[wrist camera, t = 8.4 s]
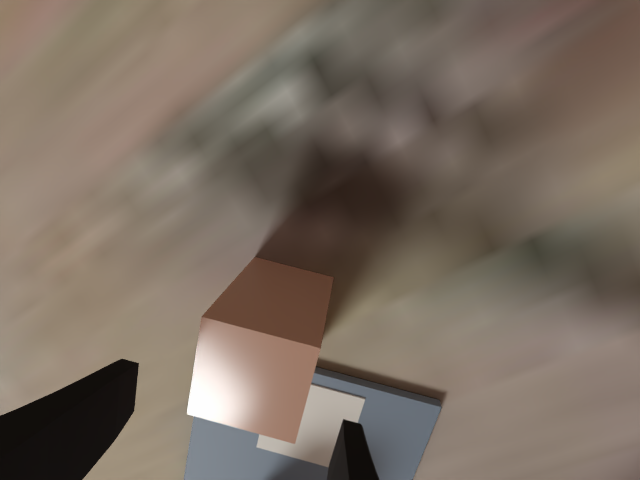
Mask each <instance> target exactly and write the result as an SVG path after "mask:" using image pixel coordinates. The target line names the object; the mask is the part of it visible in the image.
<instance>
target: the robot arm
mask: <svg viewBox="0 0 640 480" xmlns="http://www.w3.org/2000/svg"><path fill="white" fill-rule="evenodd" d="M138 366H139V363H136V362H132V361H128V360H125V359H120V360H118V361H116V362H114V363H112V364H110V365H108V366H106V367H104V368H102V369H100V370H98V371H96V372H94V373H92V374H90V375H88V376H86V377H84V378H82V379H80V380H78V381H76V382H74V383H72V384H70V385H68V386H66V387H64V388H62V389H60V390H58V391H56V392H54V393H52V394H49V395H47V396H45V397H43V398H41V399H38V400H36V401H34V402H32V403H29V404H27V405H25V406H23V407H20V408H18V409H16V410H13V411H11V412H9V413H6V414H4V415H1V416H0V480H82V479H83V478H84V477H85V476H86V475H87V473H88V472H89V471H90V470H91V469H92V467H93V466H94V465H95V464H96V463H97V461H98V460H99V459H100V458H101V457H102V455H103V454H104V453H105V452H106V450H107V449H108V448H109V447H110V446H111V444H112V443H113V442H114V441H115V439H116V438H117V436H118V435H119V433H120V432H121V430H122V429H123V427H124V426H125V424H126V423H127V421H128V420H129V418H130V417H131V415H132V414H133V412H134V406H135V396H136V386H137V376H138ZM327 480H379V477H378V474H377V472H376V469H375V466H374V463H373V460H372V457H371V454H370V451H369V447H368V444H367V441H366V437H365V433H364V429H363V427H362V425H361V424H360V423H356V422H352V421H349V420H345V419H343V421H342V424H341V428H340V431H339V434H338V437H337V440H336V444H335V447H334V450H333V453H332V457H331V460H330V463H329V468H328V475H327Z"/></svg>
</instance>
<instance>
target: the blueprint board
mask: <svg viewBox="0 0 640 480" xmlns="http://www.w3.org/2000/svg"><path fill="white" fill-rule="evenodd" d="M441 408H442V407H441V404H440V400H437V399H434V398H430V397H426V396H423V395H419V394H415V393H411V392H408V391H404V390H400V389H397V388H393V387H389V386H385V385H382V384H378V383H374V382H370V381H367V380H363V379H359V378H356V377H352V376H348V375H344V374H341V373H337V372H333V371H330V370H326V369H322V368H318V367H315V371H314V375H313V379H312V382H311V386H310V390H309V393H308V397H307V401H306V405H305V408H304V412H303V416H302V420H301V423H300V427H299V431H298V435H297V438H296V442H295V444H293V443H289V442H286V441H282V440H278V439H275V438H271V437H268V436H264V435H260V434H257V433H253V432H249V431H246V430H242V429H239V428H235V427H231V426H228V425H224V424H221V423H217V422H213V421H210V420H206V419H203V418H199V417H195V416H194V419H193V425H192V431H191V437H190V444H189V450H188V456H187V462H186V469H185V475H184V480H327V475H328V468H329V463H330V460H331V457H332V453H333V450H334V447H335V444H336V440H337V437H338V434H339V431H340V428H341V424H342V421H343V419H345V420H349V421H352V422H356V423H360V424H361V425H362V427H363V429H364V433H365V437H366V441H367V444H368V447H369V451H370V454H371V457H372V460H373V463H374V466H375V469H376V472H377V474H378V477H379V480H413V477H414V475H415V472H416V470H417V467H418V465H419V462H420V460H421V457H422V455H423V452H424V450H425V447H426V445H427V442H428V440H429V437H430V435H431V432H432V430H433V427H434V425H435V423H436V420H437V418H438V415H439V413H440V410H441Z"/></svg>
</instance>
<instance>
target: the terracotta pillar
mask: <svg viewBox="0 0 640 480" xmlns="http://www.w3.org/2000/svg"><path fill="white" fill-rule="evenodd" d="M333 279H334V277H331V276H327V275H323V274H319V273H315V272H311V271H307V270H303V269H299V268H296V267H292V266H288V265H284V264H280V263H276V262H272V261H268V260H265V259H261V258H257V257H254V258H253V259H252V261H251V262H250V263H249V264H248V265H247V266H246V267H245V268H244V270H243V271H242V272H241V273H240V274H239V275H238V276H237V277H236V279H235V280H234V281H233V282H232V283H231V284H230V285H229V286H228V288H227V289H226V290H225V291H224V292H223V293H222V294H221V295H220V297H219V298H218V299H217V300H216V301H215V302H214V303H213V304H212V306H211V307H210V308H209V309H208V310H207V311H206V312H205V313H204V315H203V316H202V317H201V324H200V331H199V337H198V344H197V351H196V357H195V364H194V370H193V377H192V384H191V390H190V397H189V403H188V410H187V414H188V415H192V416H195V417H199V418H203V419H206V420H210V421H213V422H217V423H221V424H224V425H228V426H231V427H235V428H239V429H242V430H246V431H249V432H253V433H257V434H260V435H264V436H268V437H271V438H275V439H278V440H282V441H286V442H289V443H293V444H295V442H296V438H297V435H298V431H299V427H300V423H301V420H302V416H303V412H304V408H305V405H306V401H307V397H308V393H309V390H310V386H311V382H312V379H313V375H314V371H315V367H316V364H317V360H318V356H319V352H320V349H321V343H322V338H323V333H324V327H325V322H326V317H327V311H328V306H329V301H330V295H331V290H332V285H333Z"/></svg>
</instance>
